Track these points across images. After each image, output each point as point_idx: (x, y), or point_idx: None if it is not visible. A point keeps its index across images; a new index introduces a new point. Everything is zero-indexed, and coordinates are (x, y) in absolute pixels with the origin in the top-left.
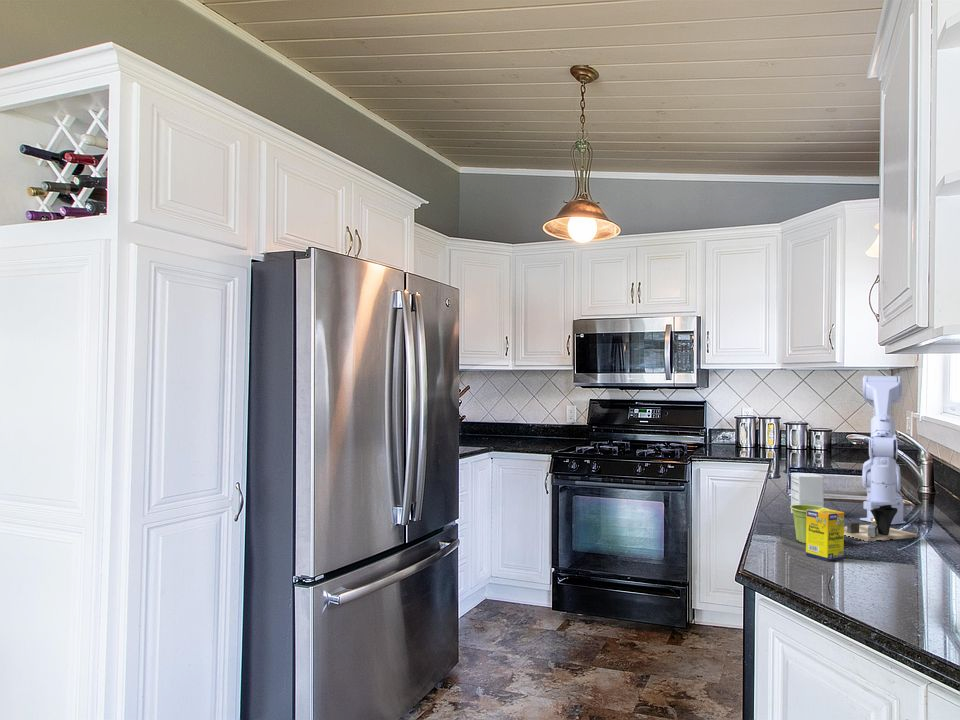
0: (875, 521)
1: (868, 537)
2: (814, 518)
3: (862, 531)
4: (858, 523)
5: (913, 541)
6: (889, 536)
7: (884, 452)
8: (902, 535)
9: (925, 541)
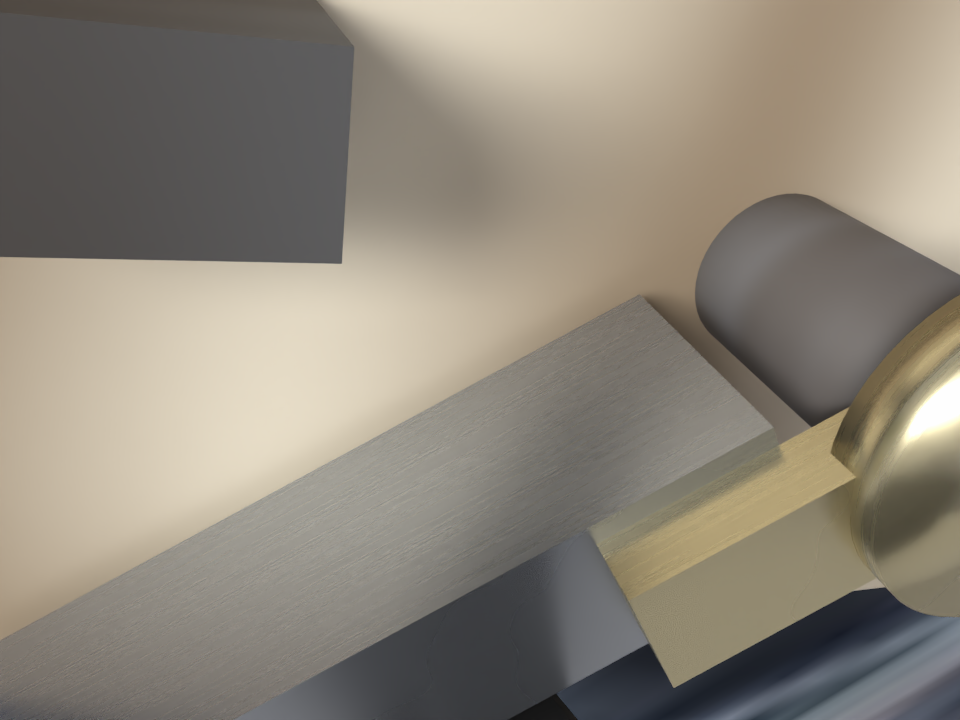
0: (729, 613)
1: (25, 617)
2: None
3: (545, 76)
4: (285, 259)
5: (772, 687)
6: None
7: None
8: (873, 584)
9: (898, 700)
